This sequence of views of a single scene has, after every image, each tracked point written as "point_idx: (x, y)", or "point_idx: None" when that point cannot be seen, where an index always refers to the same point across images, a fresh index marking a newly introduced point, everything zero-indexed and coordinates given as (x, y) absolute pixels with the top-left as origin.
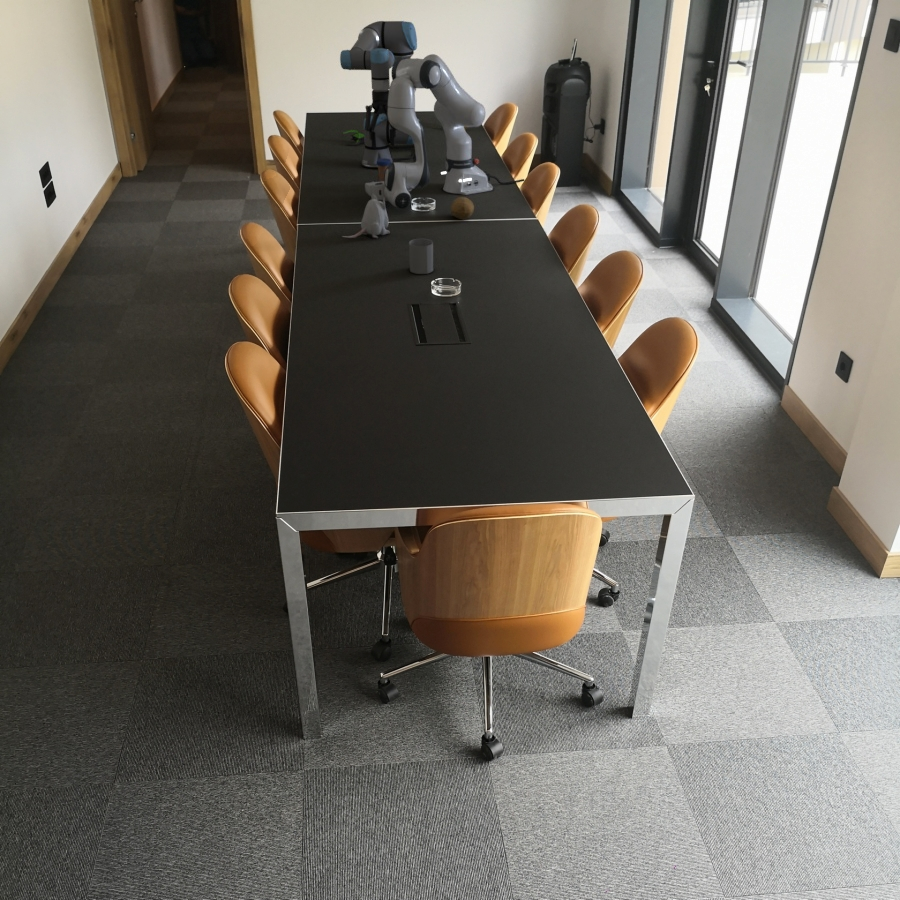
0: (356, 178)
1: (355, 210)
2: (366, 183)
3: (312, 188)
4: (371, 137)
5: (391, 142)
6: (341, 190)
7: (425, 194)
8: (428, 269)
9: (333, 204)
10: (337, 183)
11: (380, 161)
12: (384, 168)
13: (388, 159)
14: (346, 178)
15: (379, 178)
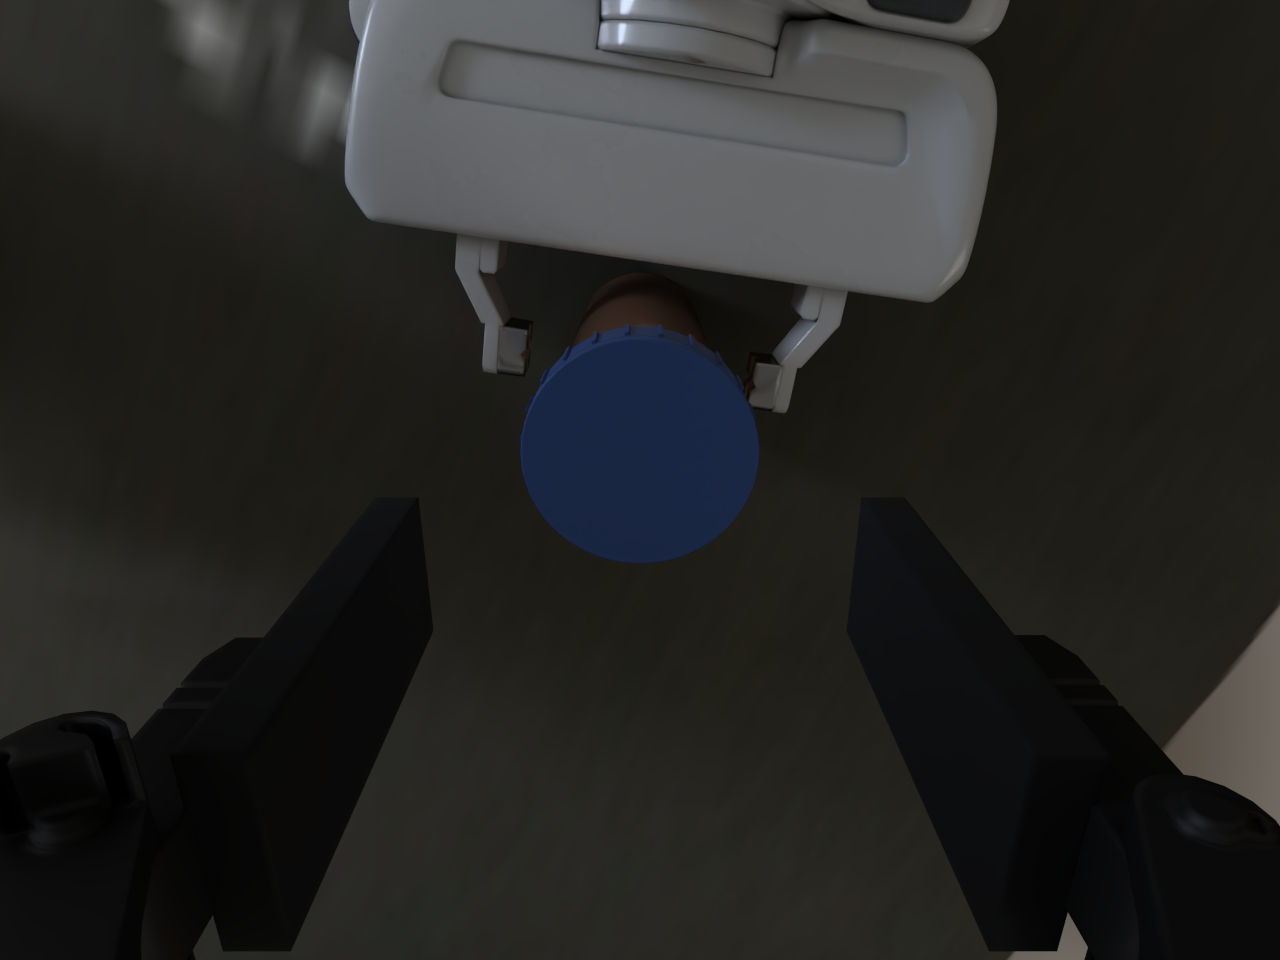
0: (642, 895)
1: (1144, 7)
2: (967, 239)
3: None
4: (1075, 684)
5: (404, 590)
6: None
7: (214, 216)
8: None
9: (1200, 329)
10: (834, 846)
11: (725, 405)
12: None
13: (545, 462)
14: (712, 922)
15: None
